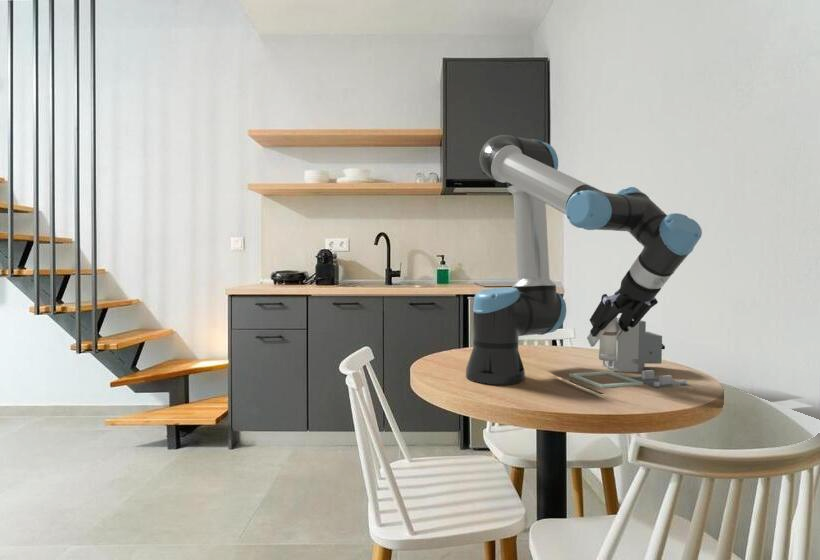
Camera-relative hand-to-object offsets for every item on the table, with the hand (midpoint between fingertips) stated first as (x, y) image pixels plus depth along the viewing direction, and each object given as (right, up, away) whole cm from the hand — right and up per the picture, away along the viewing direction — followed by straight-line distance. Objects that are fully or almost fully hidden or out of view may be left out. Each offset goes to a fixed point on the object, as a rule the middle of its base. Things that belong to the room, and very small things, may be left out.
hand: (598, 341), depth 118 cm
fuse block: (+13, -11, -4) cm, 17 cm away
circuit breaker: (+14, -10, +10) cm, 20 cm away
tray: (0, -11, -3) cm, 11 cm away
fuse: (+1, -4, -4) cm, 5 cm away
